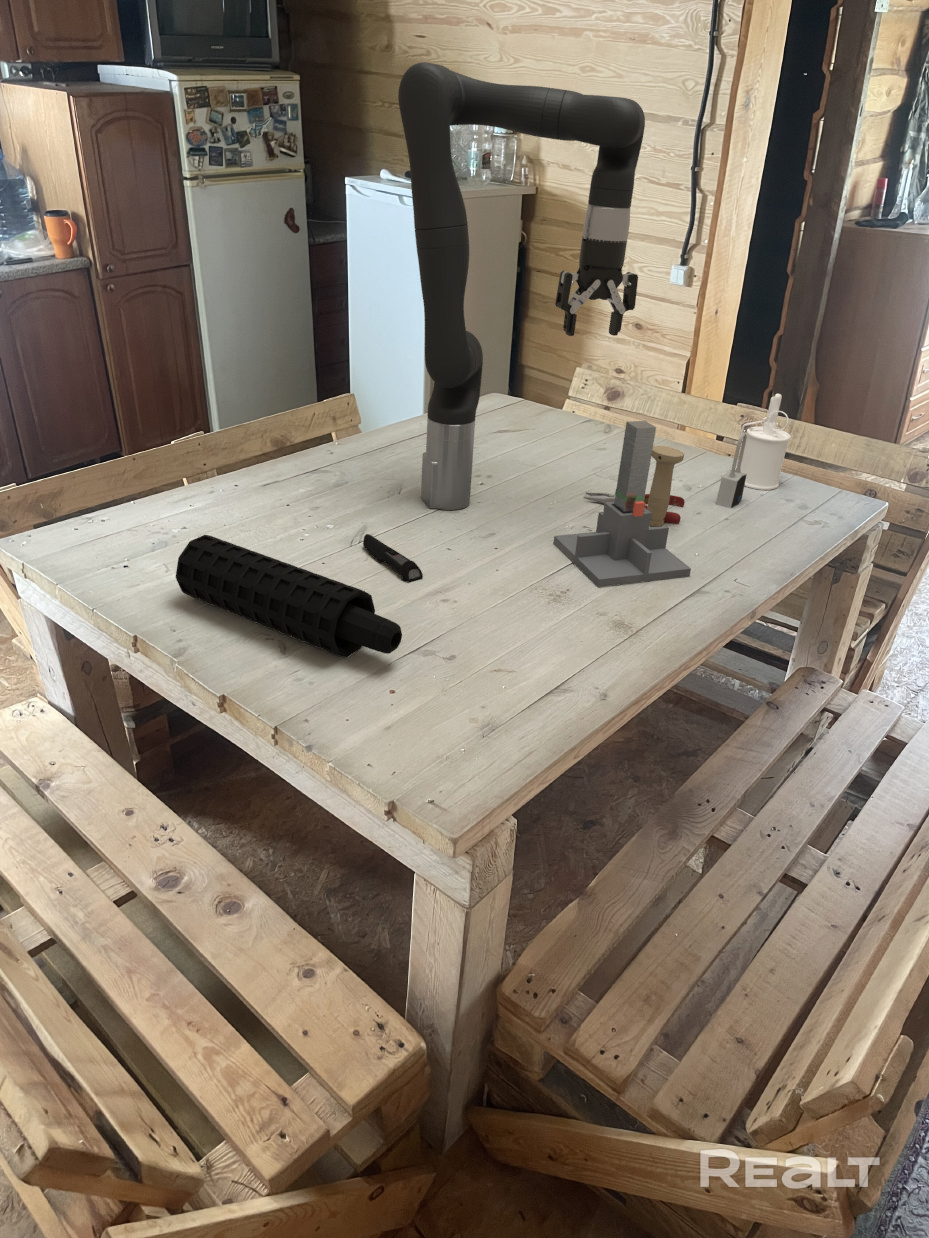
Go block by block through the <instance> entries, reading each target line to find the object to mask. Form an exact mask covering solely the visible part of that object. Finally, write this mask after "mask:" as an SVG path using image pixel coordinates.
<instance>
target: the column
mask: <svg viewBox="0 0 929 1238" xmlns="http://www.w3.org/2000/svg"><path fill="white" fill-rule="evenodd" d="M625 423H626V424H625V430H624V436H623V443H622V450H621V456H620V464H619V469H618V476H617V481H616V482H617V483H616V488H615V493H614V494H615V501H614V507H615V508H616V509H618V510H619V511H620V512H621V513H623V514H625V513H633V508H634V502H638V501H643V502H644V499H645V494H646V489H647V484H648V478H649V473H650V472H649V471H650V466H651V462H652V461H651V460H652V456H651V455H652V449H653V447H654V443H655V437H656V433H657V432H656V430H657V427H656V426H655V425H653V423H652V424H651V422H648V421H646V420H636V421H635V420H633V421H631V420H630V421H626V422H625Z"/></svg>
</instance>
